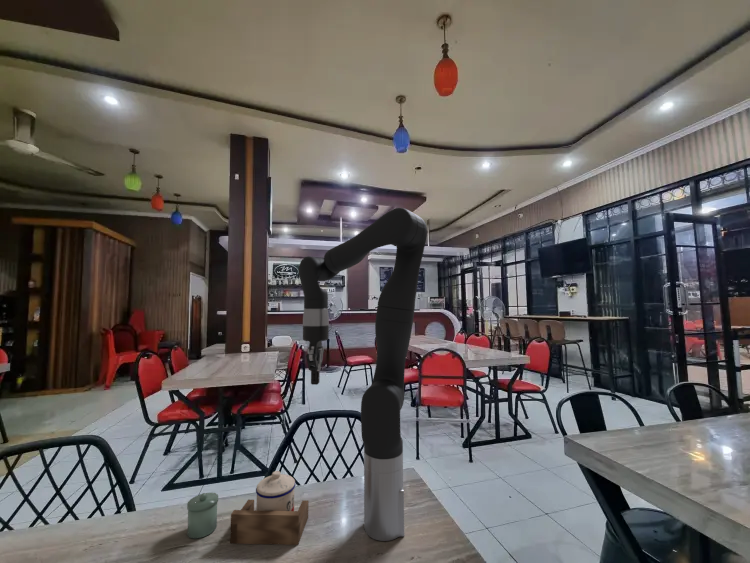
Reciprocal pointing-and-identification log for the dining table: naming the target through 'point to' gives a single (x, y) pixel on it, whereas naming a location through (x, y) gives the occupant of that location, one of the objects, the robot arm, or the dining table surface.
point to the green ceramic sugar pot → (202, 515)
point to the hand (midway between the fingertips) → (315, 383)
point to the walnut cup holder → (268, 525)
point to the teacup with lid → (276, 493)
